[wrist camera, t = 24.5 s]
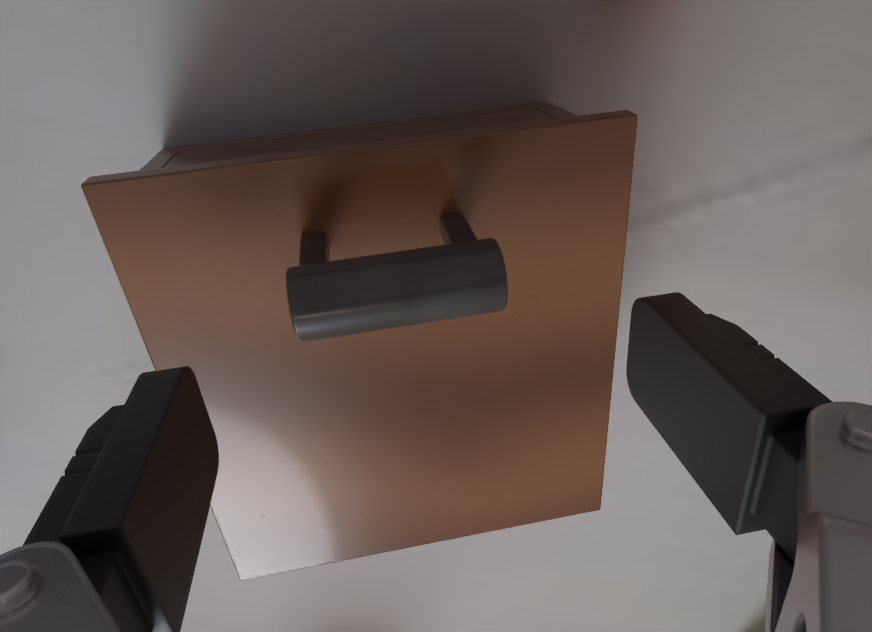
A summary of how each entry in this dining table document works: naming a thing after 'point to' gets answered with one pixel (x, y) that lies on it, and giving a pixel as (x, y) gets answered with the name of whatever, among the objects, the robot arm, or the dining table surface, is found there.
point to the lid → (388, 328)
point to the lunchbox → (354, 135)
